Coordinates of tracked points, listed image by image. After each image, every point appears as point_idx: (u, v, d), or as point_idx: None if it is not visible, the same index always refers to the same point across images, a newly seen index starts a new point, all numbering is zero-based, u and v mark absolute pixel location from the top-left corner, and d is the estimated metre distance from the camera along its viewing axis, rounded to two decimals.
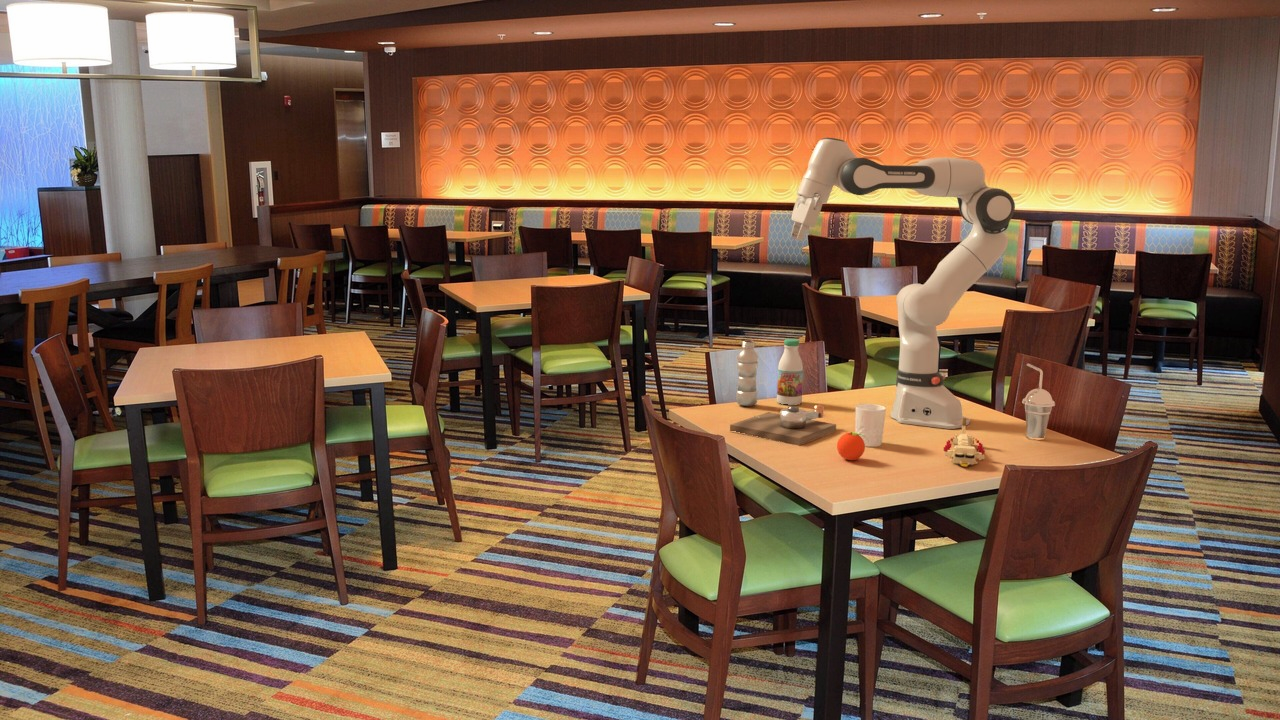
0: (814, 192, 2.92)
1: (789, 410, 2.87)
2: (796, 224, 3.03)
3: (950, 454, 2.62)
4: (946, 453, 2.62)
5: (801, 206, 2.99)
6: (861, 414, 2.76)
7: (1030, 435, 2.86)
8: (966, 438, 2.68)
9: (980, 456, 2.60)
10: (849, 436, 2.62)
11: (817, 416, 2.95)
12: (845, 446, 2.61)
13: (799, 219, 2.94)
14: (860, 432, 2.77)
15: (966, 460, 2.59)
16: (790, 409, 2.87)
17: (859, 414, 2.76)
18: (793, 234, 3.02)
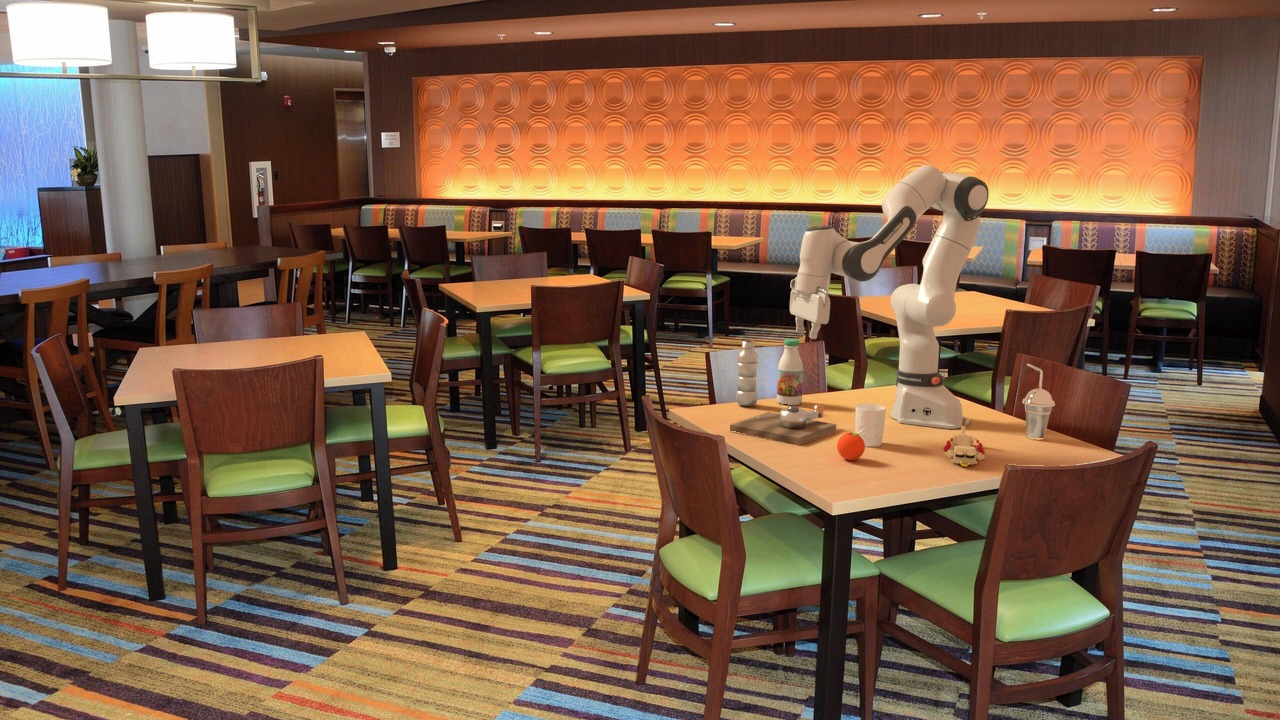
0: (816, 287, 2.80)
1: (789, 410, 2.87)
2: (799, 318, 2.91)
3: (950, 454, 2.62)
4: (946, 453, 2.62)
5: (802, 301, 2.87)
6: (861, 414, 2.76)
7: (1030, 435, 2.86)
8: (966, 438, 2.68)
9: (980, 456, 2.60)
10: (849, 436, 2.62)
11: (817, 416, 2.95)
12: (845, 446, 2.61)
13: (807, 317, 2.82)
14: (860, 432, 2.77)
15: (967, 460, 2.59)
16: (790, 409, 2.87)
17: (859, 414, 2.76)
18: (799, 329, 2.90)
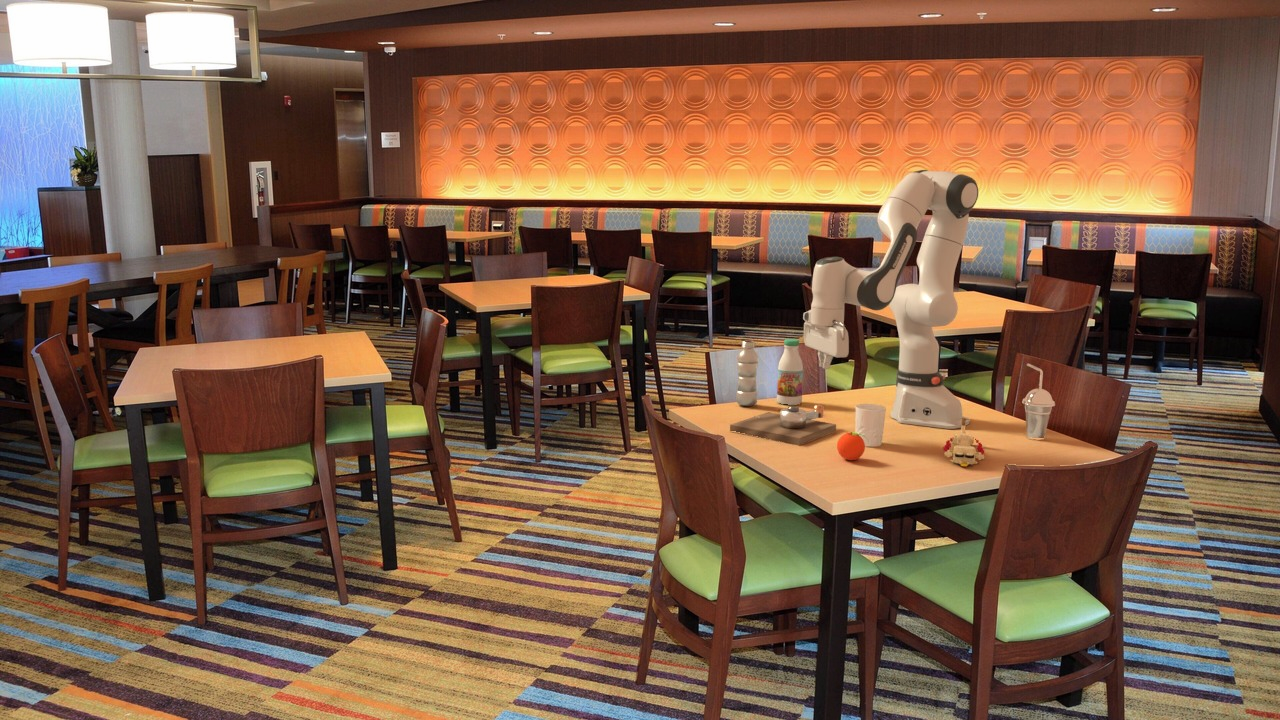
0: (832, 320, 2.78)
1: (789, 410, 2.87)
2: (821, 353, 2.85)
3: (950, 454, 2.62)
4: (946, 453, 2.62)
5: (817, 333, 2.85)
6: (861, 414, 2.76)
7: (1030, 435, 2.86)
8: (966, 438, 2.68)
9: (980, 456, 2.60)
10: (849, 436, 2.62)
11: (817, 416, 2.95)
12: (845, 446, 2.61)
13: (825, 350, 2.80)
14: (860, 432, 2.77)
15: (966, 460, 2.59)
16: (790, 409, 2.87)
17: (859, 414, 2.76)
18: None
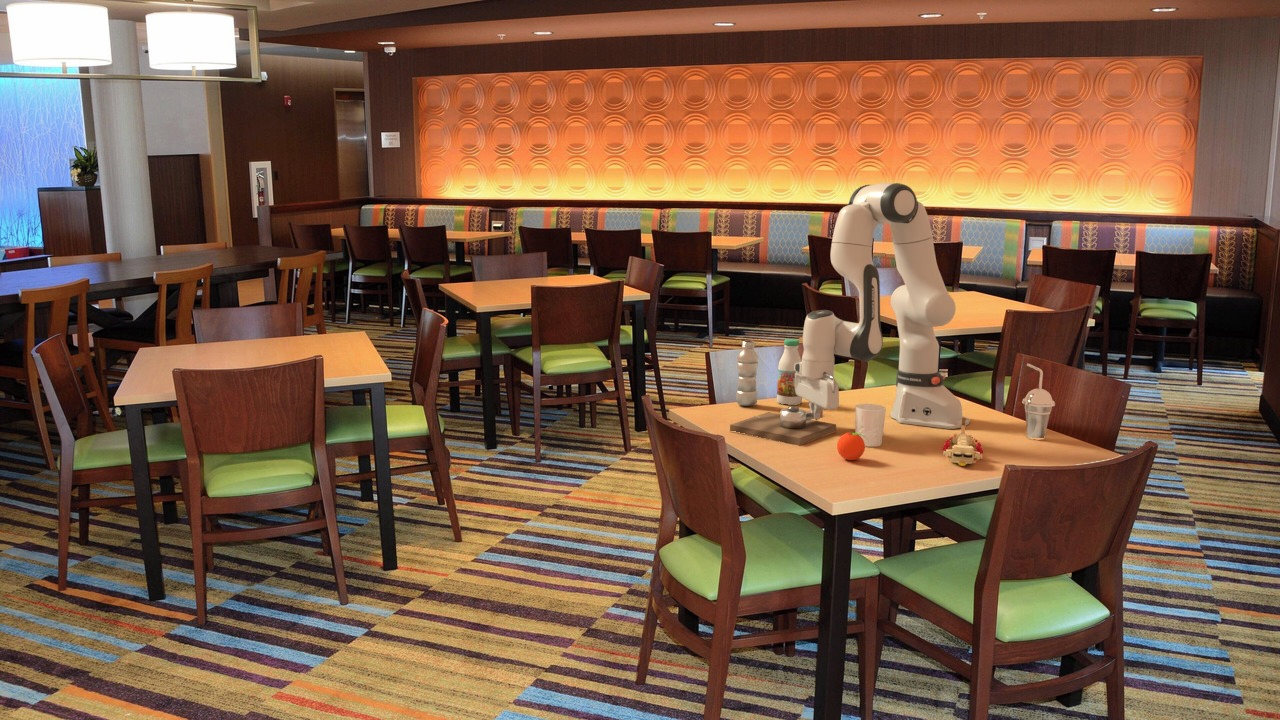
0: (822, 372, 2.85)
1: (789, 410, 2.87)
2: (813, 403, 2.92)
3: (948, 453, 2.63)
4: (944, 452, 2.63)
5: (808, 384, 2.92)
6: (861, 414, 2.76)
7: (1030, 435, 2.86)
8: (965, 438, 2.68)
9: (978, 455, 2.61)
10: (849, 436, 2.62)
11: None
12: (845, 446, 2.61)
13: (816, 402, 2.87)
14: (860, 432, 2.77)
15: (964, 460, 2.59)
16: (790, 409, 2.87)
17: (859, 414, 2.76)
18: None
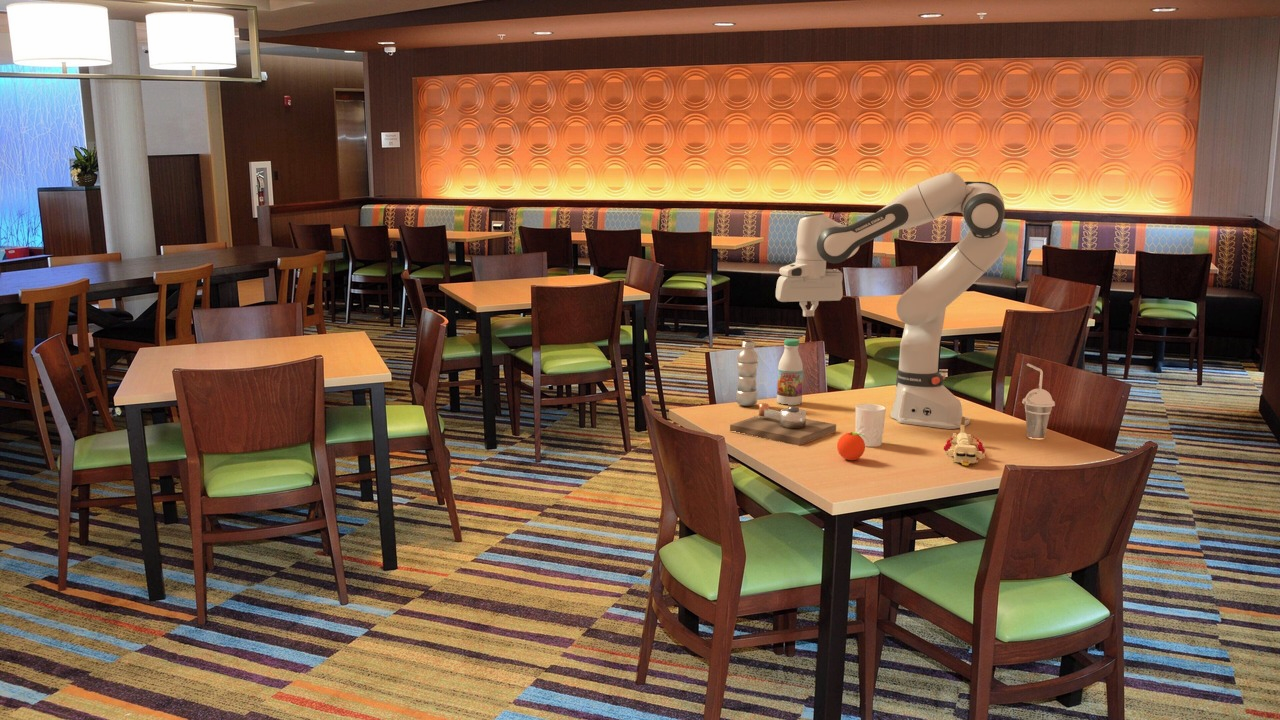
0: None
1: (797, 410, 2.87)
2: None
3: (951, 453, 2.63)
4: (947, 452, 2.63)
5: (805, 285, 3.05)
6: (861, 414, 2.76)
7: (1030, 435, 2.86)
8: (966, 437, 2.69)
9: (981, 455, 2.61)
10: (849, 436, 2.62)
11: None
12: (845, 446, 2.61)
13: (823, 298, 3.07)
14: (860, 432, 2.77)
15: (967, 459, 2.60)
16: (797, 409, 2.87)
17: (859, 414, 2.76)
18: None
